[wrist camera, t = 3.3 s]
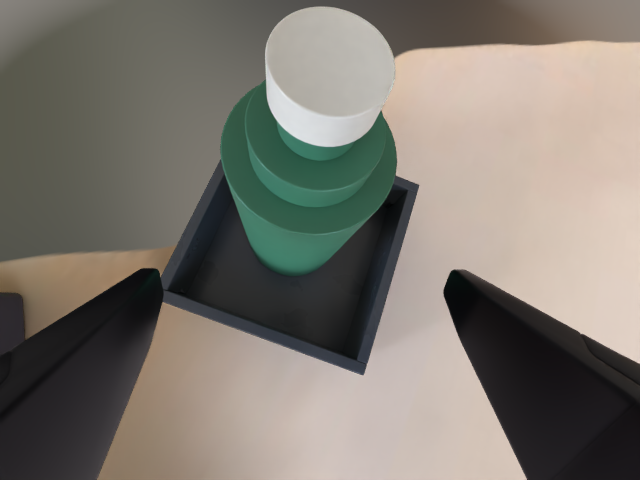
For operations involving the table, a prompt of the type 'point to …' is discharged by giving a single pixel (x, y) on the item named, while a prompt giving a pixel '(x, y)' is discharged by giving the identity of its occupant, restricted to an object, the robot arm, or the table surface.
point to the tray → (289, 279)
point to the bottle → (312, 139)
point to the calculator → (11, 321)
